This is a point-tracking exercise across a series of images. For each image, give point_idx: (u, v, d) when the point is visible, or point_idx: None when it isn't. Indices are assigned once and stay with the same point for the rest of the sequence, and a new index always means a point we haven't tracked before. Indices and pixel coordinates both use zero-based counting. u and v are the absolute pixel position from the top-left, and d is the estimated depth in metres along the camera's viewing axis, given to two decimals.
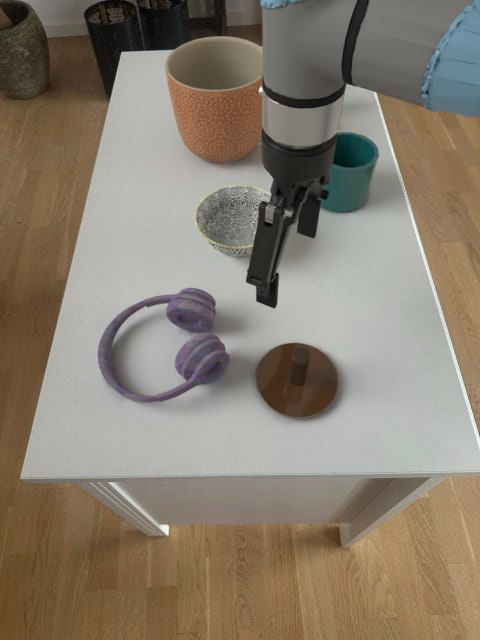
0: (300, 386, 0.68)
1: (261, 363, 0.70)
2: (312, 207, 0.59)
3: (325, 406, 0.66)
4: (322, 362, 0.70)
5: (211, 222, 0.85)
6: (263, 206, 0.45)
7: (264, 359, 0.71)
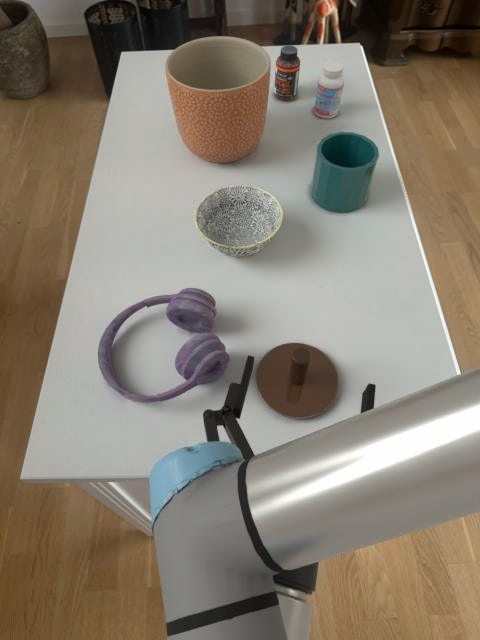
0: (300, 386, 0.68)
1: (261, 363, 0.70)
2: (242, 404, 0.47)
3: (325, 406, 0.66)
4: (322, 362, 0.70)
5: (211, 222, 0.85)
6: None
7: (264, 359, 0.71)
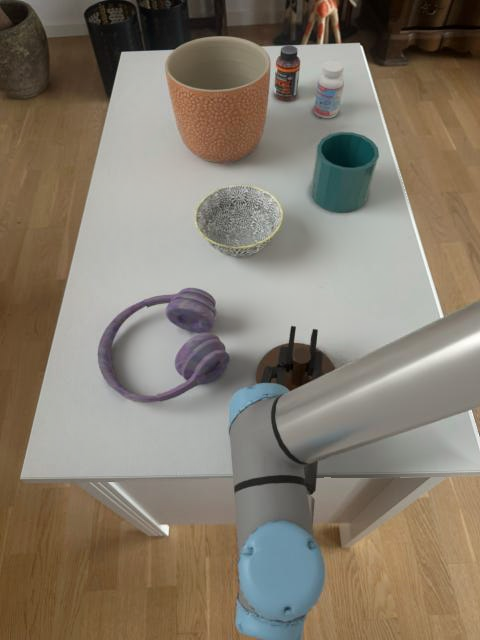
0: None
1: (261, 363, 0.70)
2: None
3: None
4: (322, 362, 0.70)
5: (211, 222, 0.85)
6: None
7: (264, 359, 0.71)
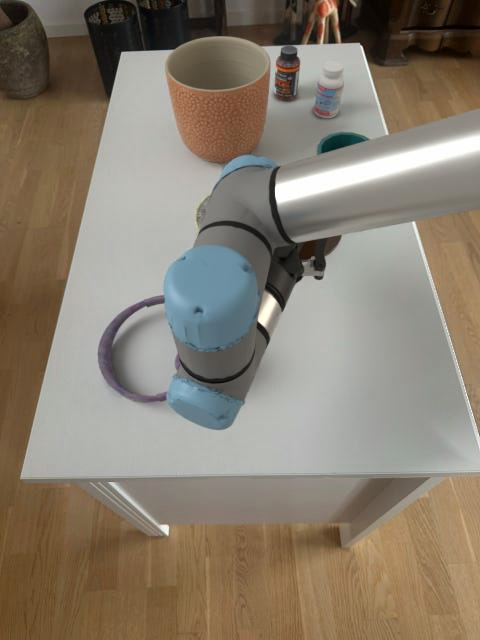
0: None
1: None
2: None
3: None
4: None
5: None
6: (322, 276, 0.54)
7: None
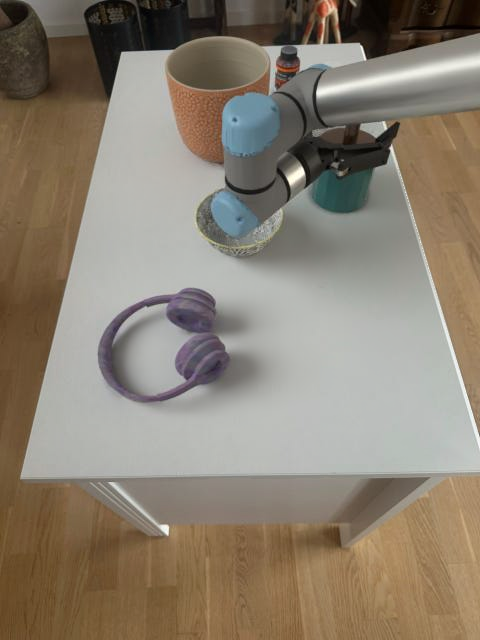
0: None
1: (328, 131, 0.87)
2: None
3: None
4: None
5: (211, 222, 0.85)
6: (339, 177, 0.73)
7: (332, 130, 0.87)
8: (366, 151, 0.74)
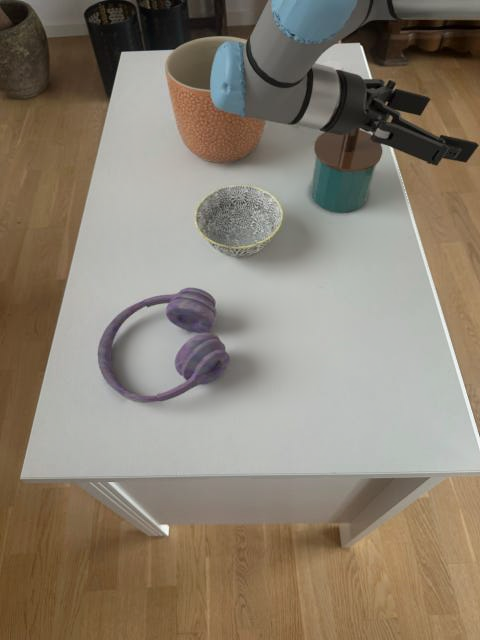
0: (347, 152, 0.83)
1: None
2: (399, 97, 0.68)
3: (357, 168, 0.81)
4: (374, 147, 0.84)
5: (211, 222, 0.85)
6: (374, 137, 0.57)
7: None
8: None
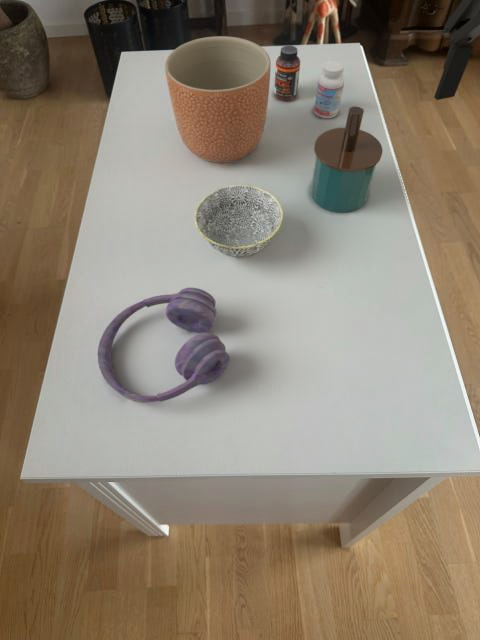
0: (347, 152, 0.83)
1: (328, 131, 0.87)
2: (465, 55, 0.57)
3: (357, 168, 0.81)
4: (374, 147, 0.84)
5: (211, 222, 0.85)
6: None
7: (332, 130, 0.87)
8: None
